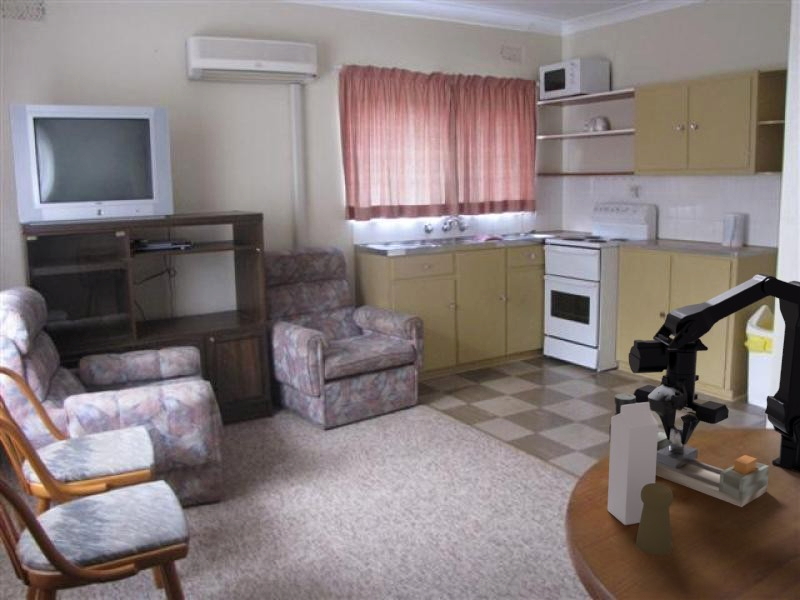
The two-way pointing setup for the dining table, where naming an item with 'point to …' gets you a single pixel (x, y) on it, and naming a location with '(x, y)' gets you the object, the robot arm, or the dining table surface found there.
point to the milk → (631, 460)
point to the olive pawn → (655, 520)
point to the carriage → (676, 450)
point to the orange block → (745, 464)
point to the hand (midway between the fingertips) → (676, 442)
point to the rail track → (715, 478)
